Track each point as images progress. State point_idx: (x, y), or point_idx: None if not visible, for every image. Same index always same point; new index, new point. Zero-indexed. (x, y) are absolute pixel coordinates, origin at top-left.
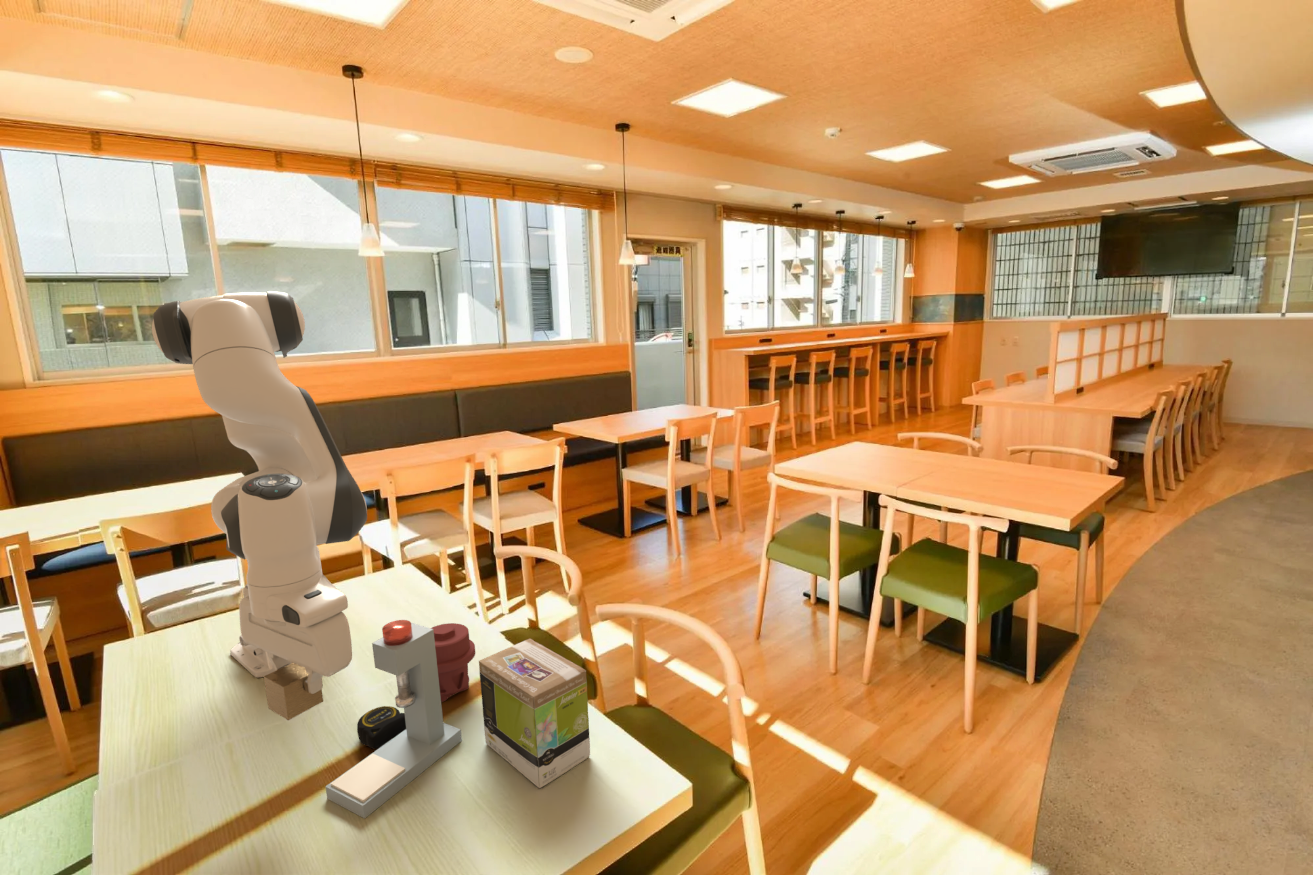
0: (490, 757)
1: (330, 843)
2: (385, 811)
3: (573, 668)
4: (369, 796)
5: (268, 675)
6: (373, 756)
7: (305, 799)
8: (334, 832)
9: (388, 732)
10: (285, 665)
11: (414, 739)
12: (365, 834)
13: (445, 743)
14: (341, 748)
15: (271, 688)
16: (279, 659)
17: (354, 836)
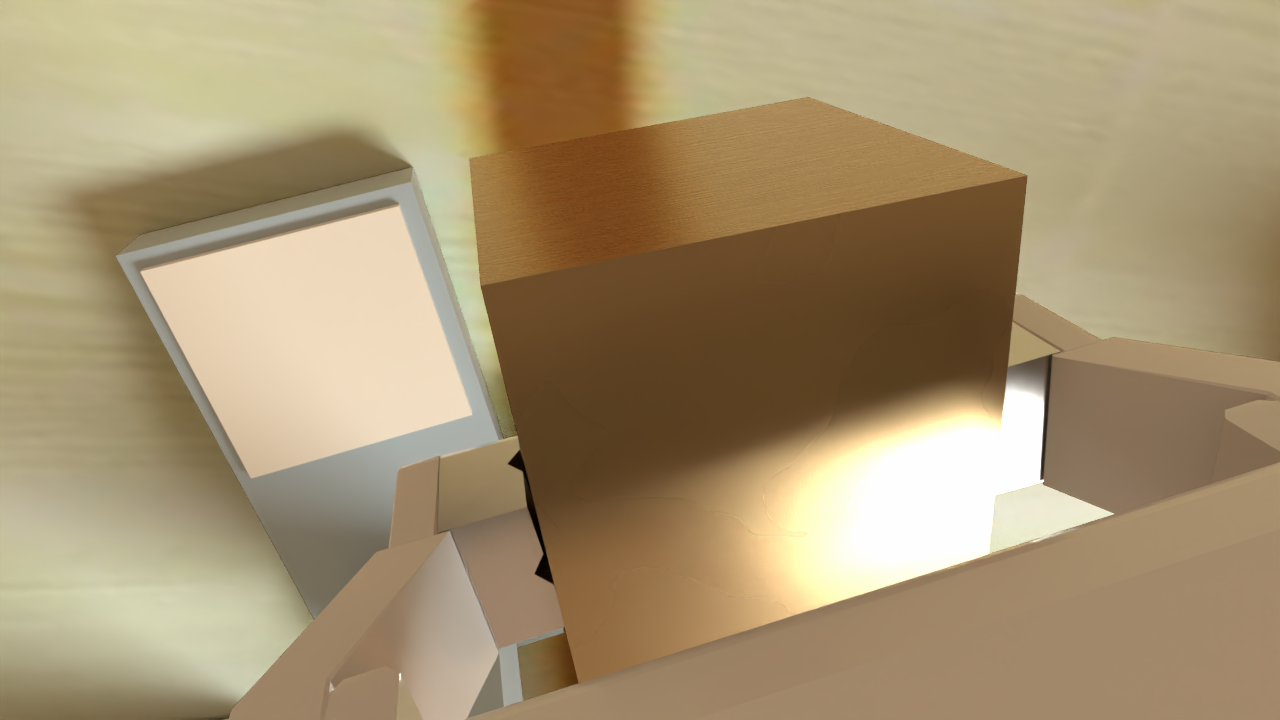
0: (175, 698)
1: (65, 57)
2: (126, 315)
3: None
4: (159, 302)
5: (987, 229)
6: (448, 409)
7: (486, 94)
8: (138, 101)
9: None
10: (1045, 440)
11: None
12: (18, 197)
13: None
14: None
15: (797, 175)
16: (1159, 445)
17: (39, 157)
